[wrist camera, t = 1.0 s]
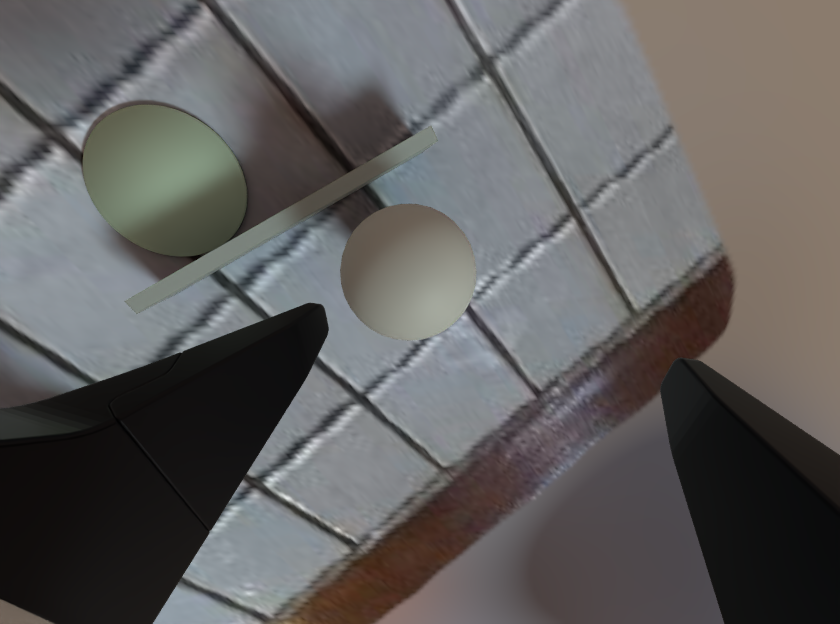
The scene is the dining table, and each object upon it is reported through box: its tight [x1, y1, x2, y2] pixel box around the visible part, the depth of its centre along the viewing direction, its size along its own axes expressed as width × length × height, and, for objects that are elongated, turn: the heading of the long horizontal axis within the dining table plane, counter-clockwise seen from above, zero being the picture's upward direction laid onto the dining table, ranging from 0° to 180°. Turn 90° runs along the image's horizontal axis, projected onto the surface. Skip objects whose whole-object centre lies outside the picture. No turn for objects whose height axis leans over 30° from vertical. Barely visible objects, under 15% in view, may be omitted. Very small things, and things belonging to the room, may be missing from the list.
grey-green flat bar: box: [125, 126, 438, 314], centre depth 19 cm, size 18×1×4 cm, turn 119°
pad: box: [83, 105, 247, 257], centre depth 19 cm, size 8×8×1 cm
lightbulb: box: [340, 204, 476, 341], centre depth 17 cm, size 6×6×11 cm
